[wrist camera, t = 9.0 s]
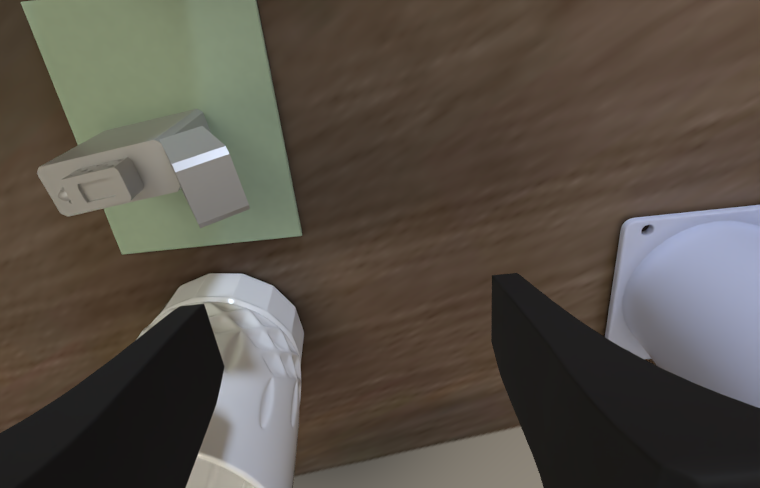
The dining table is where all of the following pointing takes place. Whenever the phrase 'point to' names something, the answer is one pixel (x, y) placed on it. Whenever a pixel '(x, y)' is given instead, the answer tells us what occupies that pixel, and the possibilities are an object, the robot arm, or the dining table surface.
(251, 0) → the sticky note
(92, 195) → the lighter
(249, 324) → the white cup
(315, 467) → the dining table surface
